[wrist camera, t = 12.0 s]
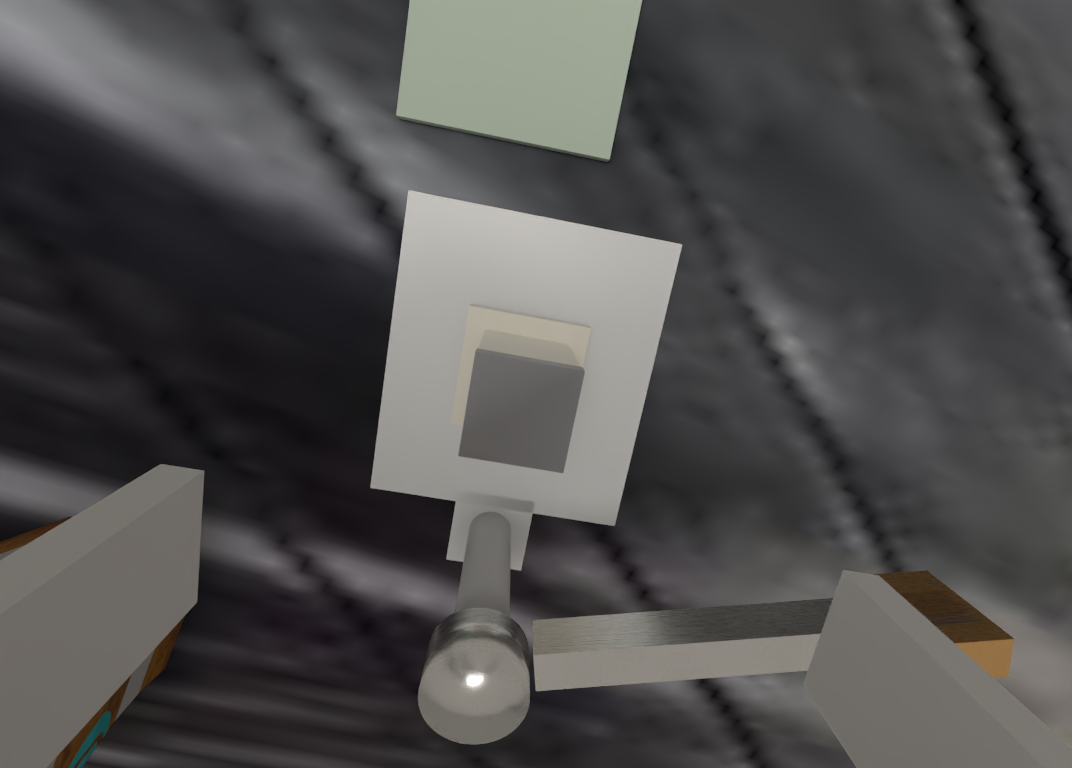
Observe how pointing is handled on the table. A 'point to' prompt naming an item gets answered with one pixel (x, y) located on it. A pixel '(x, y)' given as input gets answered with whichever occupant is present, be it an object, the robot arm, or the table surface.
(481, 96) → the mat
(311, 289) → the table surface
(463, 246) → the socket
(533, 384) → the plug
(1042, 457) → the table surface
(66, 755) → the mug
